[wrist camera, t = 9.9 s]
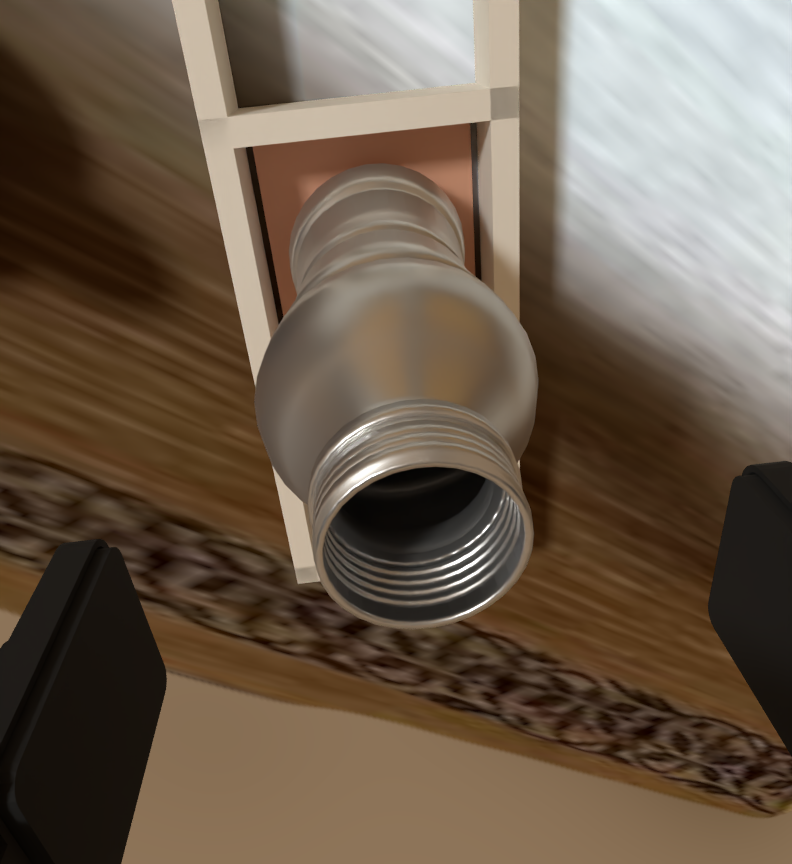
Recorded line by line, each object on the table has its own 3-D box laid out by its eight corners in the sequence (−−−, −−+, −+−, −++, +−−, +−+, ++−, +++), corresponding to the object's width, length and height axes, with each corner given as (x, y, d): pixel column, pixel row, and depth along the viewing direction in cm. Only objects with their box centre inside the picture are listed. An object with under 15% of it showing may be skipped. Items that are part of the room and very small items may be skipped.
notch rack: (138, -248, 21) (110, -287, 19) (496, -284, 21) (519, -327, 19) (300, 544, 37) (298, 583, 34) (507, 520, 37) (519, 557, 34)
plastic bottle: (480, 261, 30) (681, 588, 12) (345, 339, 31) (352, 732, 14) (406, 117, 27) (532, 282, 9) (259, 210, 28) (130, 507, 11)
